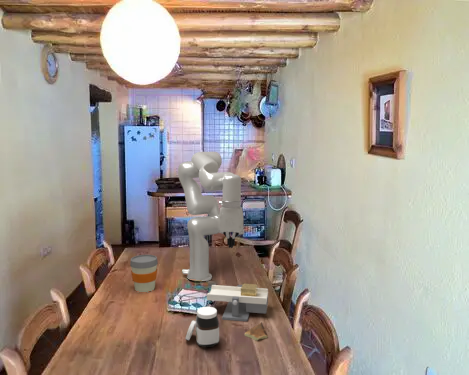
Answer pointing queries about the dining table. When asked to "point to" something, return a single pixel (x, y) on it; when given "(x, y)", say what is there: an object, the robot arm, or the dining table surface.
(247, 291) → the block
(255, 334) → the shard
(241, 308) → the balance stand
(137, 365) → the dining table surface
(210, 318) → the spread jar
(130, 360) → the dining table surface
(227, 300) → the beam
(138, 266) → the reusable coffee cup
